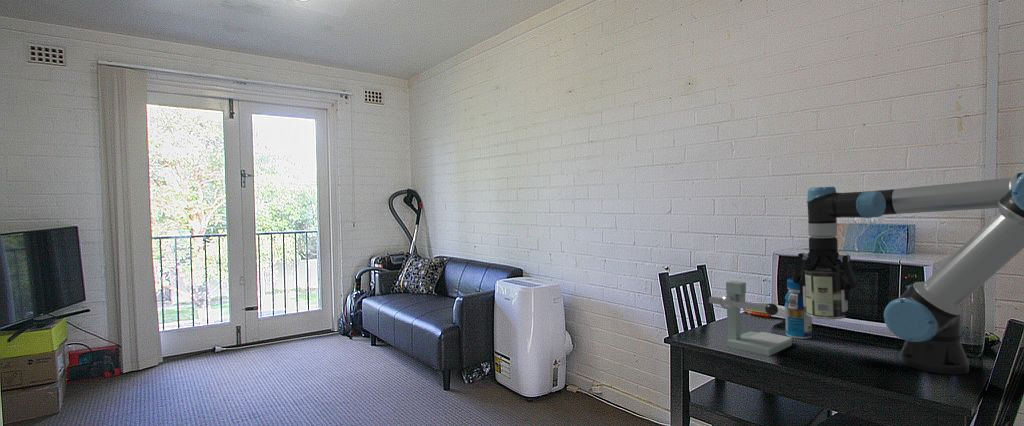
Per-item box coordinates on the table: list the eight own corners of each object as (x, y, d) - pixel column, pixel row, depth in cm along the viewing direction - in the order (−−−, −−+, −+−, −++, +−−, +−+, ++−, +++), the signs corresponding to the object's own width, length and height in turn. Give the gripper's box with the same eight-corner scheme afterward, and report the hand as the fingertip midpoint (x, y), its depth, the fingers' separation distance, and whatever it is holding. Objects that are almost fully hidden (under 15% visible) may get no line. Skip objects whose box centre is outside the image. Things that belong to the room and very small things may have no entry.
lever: (780, 315, 154) (780, 302, 154) (774, 317, 152) (774, 304, 151) (713, 304, 171) (713, 293, 171) (707, 306, 169) (707, 294, 169)
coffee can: (836, 311, 157) (834, 267, 157) (851, 319, 147) (850, 272, 147) (800, 312, 159) (799, 268, 159) (813, 319, 149) (812, 273, 149)
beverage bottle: (780, 332, 180) (780, 278, 179) (805, 332, 179) (804, 277, 178) (791, 339, 171) (790, 282, 171) (817, 339, 170) (816, 281, 170)
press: (793, 344, 166) (792, 281, 165) (769, 356, 155) (767, 288, 155) (749, 335, 178) (748, 276, 177) (723, 345, 167) (722, 283, 166)
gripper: (870, 236, 146) (872, 311, 147) (789, 235, 164) (792, 301, 165) (861, 238, 142) (863, 316, 142) (779, 236, 159) (781, 305, 160)
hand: (825, 308), depth 153 cm, fingers closed on coffee can, 10 cm apart
